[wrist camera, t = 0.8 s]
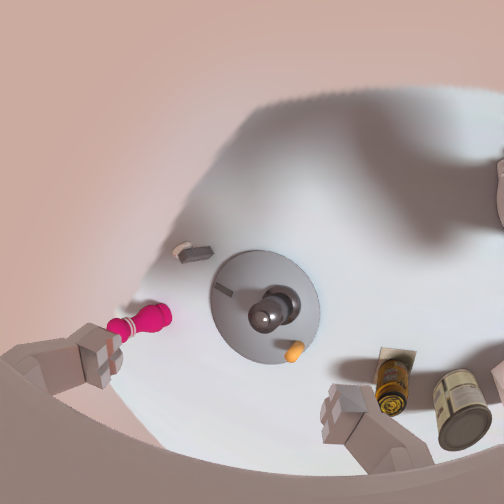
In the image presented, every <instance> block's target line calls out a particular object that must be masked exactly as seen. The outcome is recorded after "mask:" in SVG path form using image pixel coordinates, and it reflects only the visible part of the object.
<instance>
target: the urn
mask: <svg viewBox="0 0 504 504" xmlns="http://www.w3.org/2000/svg"><path fill="white" fill-rule="evenodd" d="M300 311H301V301H300V298H299V296H298V294H297V293H296V292H295V291H294V290H293V289H292V288H290V287H288V286H285V285H277V286H274V287H272V288H270V289H269V290H267V291H266V292H265V294H264V295H263V297H262V300H261V301H259V302H258V303H256V304H254V305H253V306H252V307H251V308H250V310H249V312H248V320H249V323H250V325H251V327H252V328H253V329H254V330H255V331H257V332H259V333H262V334H268V333H271V332H273V331H274V330H275V329H276V328H277V327H279V326H280V325H287V324H290V323H292V322H293V321H294V320H295V319H296V318H297V317H298V315H299V314H300Z"/></svg>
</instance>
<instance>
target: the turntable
mask: <svg viewBox="0 0 504 504" xmlns="http://www.w3.org/2000/svg"><path fill="white" fill-rule="evenodd" d="M277 285H285V286H288V287H290V288H292V289H293V290H294V291H295V292H296V293H297V294H298V296H299V298H300V301H301V311H300V314H299V315H298V317H297V318H296V319H295V320H294V321H293V322H292V323H290V324H287V325H280V326H279V327H277V328H276V329H275V330H274V331H273V332H271V333H268V334H262V333H259V332H257V331H255V330H254V329H253V328H252V327H251V325H250V323H249V320H248V312H249V310H250V308H251V307H252V306H253V305H254V304H256V303H258V302H259V301H261V300H262V297H263V295H264V294H265V292H266V291H267V290H269V289H270V288H272V287H274V286H277ZM211 309H212V314H213V318H214V321H215V324H216V326H217V329H218V331H219V332H220V334H221V336H222V337H223V339H224V340H225V341H226V342H227V344H228V345H229V346H230V347H231V348H232V349H233V350H235V351H236V352H237V353H239V354H240V355H241V356H243V357H245V358H247V359H249V360H251V361H254V362H257V363H262V364H281V363H285V362H290V363H293V362H295V361H296V360H297V359H298V357H299V356H300V355H301V354H302V353H303V352H304V351H305V350H306V349H307V348H308V347H309V346H310V344H311V343H312V341H313V339H314V338H315V335H316V333H317V330H318V327H319V322H320V305H319V300H318V296H317V293H316V290H315V288H314V286H313V284H312V282H311V281H310V279H309V277H308V276H307V275H306V274H305V272H304V271H303V270H302V269H301V268H300V267H299V266H298V265H297V264H295V263H294V262H293V261H291V260H290V259H288V258H286V257H284V256H282V255H279V254H277V253H273V252H269V251H252V252H246V253H243V254H240V255H238V256H236V257H234V258H233V259H231V260H230V261H229V262H227V263H226V264H225V265H224V266H223V268H222V269H221V270H220V272H219V273H218V275H217V277H216V279H215V282H214V284H213V288H212V294H211Z"/></svg>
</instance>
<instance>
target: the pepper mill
mask: <svg viewBox="0 0 504 504" xmlns="http://www.w3.org/2000/svg"><path fill="white" fill-rule="evenodd" d="M171 321H172V314H171V311H170V309H169V308H168V307H167V306H166V305H165V304H162V303H160V304H157V305H155V306H154V305H148V306H145V307H144V308H142V309H141V310H140V311H139V313H138V314H137V315H136V316H134V317H132V318H129V317H125V318H122V319H120V318H114V319H112V320H110V321H109V322H108V324H107V330H109V331H112V332H114V333H117V334H119V335H120V336H121V339H122V343H124V342H126V341H127V340H128V338H131V337H134V336H135V334H136V333H138V332H149V333H154V332H158V331H160V330H161V329H162V328H163V327H165V326H168V325H169V324H170V323H171Z"/></svg>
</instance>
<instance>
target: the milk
mask: <svg viewBox="0 0 504 504" xmlns="http://www.w3.org/2000/svg"><path fill="white" fill-rule="evenodd" d="M491 373H492V376H493V379H494V381H495V384H496V387H497V390H498V393H499V396H500V399H501V402H502V404H503V406H504V360H503V361H502V362H501V363H500V364H498V365H497V366H496V367H495V368H493V369H492V370H491Z"/></svg>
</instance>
